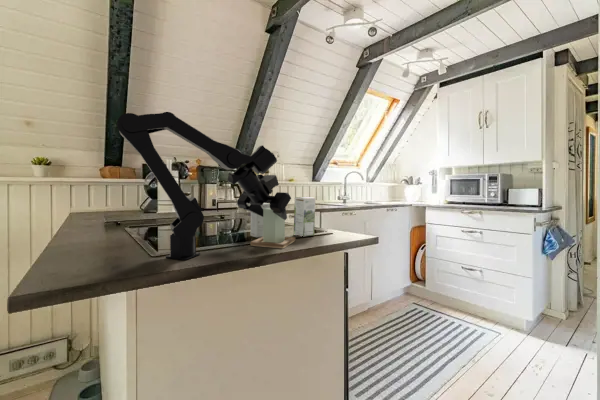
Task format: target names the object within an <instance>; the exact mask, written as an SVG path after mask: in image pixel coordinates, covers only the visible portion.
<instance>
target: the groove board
mask: <svg viewBox="0 0 600 400" xmlns="http://www.w3.org/2000/svg"><path fill="white" fill-rule="evenodd" d="M294 242H296V237H294V236H285V241H283V242H282V243H272V242H263V237H257V239H253V240H252V241H250V246H251V247H263V248H271V249H272V248H274V249H284V248H287V247H288V246H290V245H291V244H293V243H294Z"/></svg>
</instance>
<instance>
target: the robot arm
mask: <svg viewBox="0 0 600 400" xmlns="http://www.w3.org/2000/svg"><path fill="white" fill-rule="evenodd" d="M116 127H117V129H118V131H119V134H120V135H121V136H122V138H123V139H125V141H126V142H127V143H128V144H129V145H130V146H131V147H132V148H133V149H134V150H135V151H136V153H138V154H139V155H140V157H141V158H142V159H143V161H144V163H145V164H146V165H147V167H148V168H149V170H150V172H151V174H153V176H154V177H155V179H156V180H157V181H158V184H159V185H160V186H161V188H162V190H163V191H164V192H165V194H166V195H167V197H168V198H169V200H170V202H171V205H172V206H173V209H174V213H175V215H176V218H175V219H174V220H173V221H172V222H171V223H170V224H169V227H170V230H171V231H172V232H173V233H171V234H170V236H169V241H170V244H169V245H170V249H169V250H170V253H169V254H167V255H165V258H166V259H174V260H182V261H186V260H189V259H191V258H194V257H197V256H199V255H201V252H199V251H197V238H196V233H197V230H198V229H199V228H200V227H201V226H202V224H203V223H204V219H205V215H204V213H203V212H204V211H205V210H204V209H203V208H202V207H201V206H200V205H199V202H198V200H197V198H196V197H194V196H190V197H188V196H187V195H186V194H185V193H184V191H183V189H182V188H181V187H180V185H179V184H178V182H177V180H176V178H175V177H174V176H173V174H172V172H171V171H170V169H169V168H168V167H167V165H166V163H165V162H164V160H163V158H162V157H161V156H160V154H159V153H158V151H157V150H156V148H155V146H154V144H153V141H152V138H151V136H150V134H153V133H157V132H162V131H168V132H170V133H172V134H173V135H175V136H177V137H179V138H180V139H182V140H184V141H185V142H187V143H189V144H191V145H192V146H193V147H195V148H197V149H199V150H200V151H202V152H204V153H206V155H208V156H209V157H210V158H211V159H212V160H213V162H215V163H216V164H217V165H218V166H219V167H221V168H223V169H224V170H235V171H234V172H229V173H228V177H227V182H228V183H230V184H231V185H235V184H238V185H239V186H240V188H241V189H242V190H243V191H242V193H241V195H240V196H239V197H238V199H237V200H236V201H237V202H236V205H237V206H238V207H239V208H240V209H242V210H245V211H248V212H250V213H251V212H253V213H255V214H257V215H260V216H262V217H263V209H262V207H261V205H263V203H269V204H270V208H271V210H273V213H275V214H276V215H278V216H279V217H281V218H282V219H284V220H285V221H286V220H287V219H288V215H287V209H286V208H287V206H288V204H289V203H290V201H291V200H292V197H291V194H289V192H283V191H281V192H278V191H277V192H276V193H275V194H274V195H271V194H272V193H273V189H274V188H276V187H278V186H279V181H278V177H277V175H276V174H267V175H264V174H265V173H266V172H268V171H269V170H270V169H271V168H272V167H273V166H274V165H275V164H276V163H277V161H278V160H277V157H276V155H275V154H274V153H273V152H272V151H270V150H269V149H268V148H266V147H265V146H264V145H259V146H258V147H257V148H256V149H255V151H254V152H252V153H251V154H250V155H249V154H244V153H242V152H241V151H240V150H239V149H238V148H235V147H233V146H230V145H228V144H225V143H223V142H219V141H217V140H214V139H212V138H211V137H210V136H208V135H206V134H205V133H203V132H201V131H200V130H198V129H197V128H196V127H194V126H192V125H190V124H189V123H187V122H186V121H184V120H183V119H181V118H179V117H178V116H177V115H175V114H174V113H172V112H170V111H165V112H159V113H144V114H140V115H139V114H136V113H134V112H126V113H124V114H122V115H120V116H119V117H118V119H117V121H116ZM242 165H244V166H242ZM241 166H242V167H241Z"/></svg>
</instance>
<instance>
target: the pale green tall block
mask: <svg viewBox="0 0 600 400" xmlns="http://www.w3.org/2000/svg"><path fill="white" fill-rule="evenodd" d="M285 229H286V220H284V219H282V218H281V217H279V216H278V215H276V214H275V213H273V210H271V208H267V209H263V242H272V243H282V242H283V241H285V237H286V236H285V235H286V230H285Z"/></svg>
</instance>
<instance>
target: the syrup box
mask: <svg viewBox="0 0 600 400" xmlns="http://www.w3.org/2000/svg"><path fill="white" fill-rule="evenodd" d="M293 204H294V209H293V210H294V212H293V235H294V234H295V235H294V236H297V235H300V236H299V237H302V236H303V237H302V238H304V237H311V236H315V228H316V227H315V226H316V224H315V223H316V217H315V216H316V197H312V196H299V197H297V196H295V197H294V203H293Z"/></svg>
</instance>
